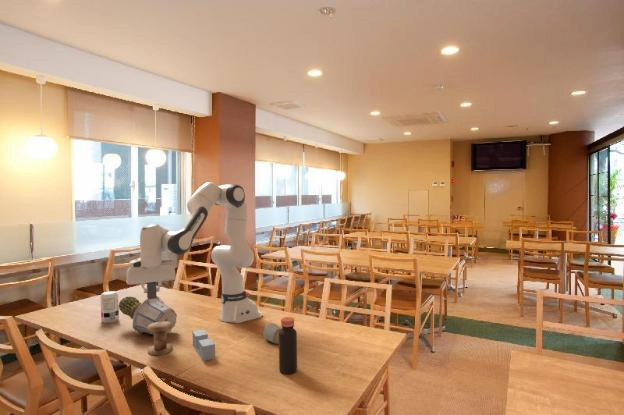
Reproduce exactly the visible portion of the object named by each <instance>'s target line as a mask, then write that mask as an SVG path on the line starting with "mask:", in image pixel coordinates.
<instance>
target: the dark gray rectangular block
mask: <svg viewBox="0 0 624 415" xmlns="http://www.w3.org/2000/svg"><path fill="white" fill-rule="evenodd" d="M156 287H157V282H150V283H146V288H147V289H148V293H146V298H147V299H155V298H157V292H156Z"/></svg>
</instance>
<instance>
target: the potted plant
mask: <svg viewBox="0 0 624 415" xmlns="http://www.w3.org/2000/svg"><path fill="white" fill-rule="evenodd" d="M118 305H119V311H120V312H121V313H122V315H126V316H127V317H129V318H130V320H132V324H131V325H132V329H133V330H134V331H135V332H137V334H144V333H147V334H149V335H153V336H154V332H150V331H148V330H147V326H148V325H150V324H152V323H155V322H161V321H167V322H171V323H172V328H170V329H169V330H166V336H167V335H168V334H169V333H170V332H172V329H173V328H174V327H175V326H176V324H177V317H178V313H176V312H175V310H174V309H173V308H171V307H169V306H168V305H166V304H165V302H164V300H162V299H161V298H160V296H157V298H155V299H148V298H147V299H144V300H143V302H140V300H139V299H137V297H134V296H125V297H124V298H122V299H120V300H119V301H118Z"/></svg>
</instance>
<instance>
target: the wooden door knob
mask: <svg viewBox="0 0 624 415" xmlns="http://www.w3.org/2000/svg"><path fill="white" fill-rule="evenodd" d="M170 328H172V323H171V322H167V321H161V322H155V323H152V324H150V325H148V326H147V330H148V331H150V332H154V335H153V345H152V346H150V347H148V349H147V354H148V355H149V356H163V355H166V354H169V353H171V352H172V351H173V350H174V349H173V348H174V346H173V344H171V343H167V335H166V330H169V329H170ZM172 329H173V328H172Z"/></svg>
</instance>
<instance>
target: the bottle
mask: <svg viewBox="0 0 624 415" xmlns="http://www.w3.org/2000/svg"><path fill="white" fill-rule="evenodd" d="M280 324H281V325H280V326H281V328H282V329H281V330H280V332H279V344H278V356H279V358H278V362H279V363H278V366H279V367H278V369H279V372H280V373H281V374H283V375H292V374H295V373H296V372H297V371H298V342H297V341H298V338H297V336H298V333H297V330H296V329H295V328H294V326H295V317H290V316H285V317H282V318H281V320H280Z"/></svg>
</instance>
